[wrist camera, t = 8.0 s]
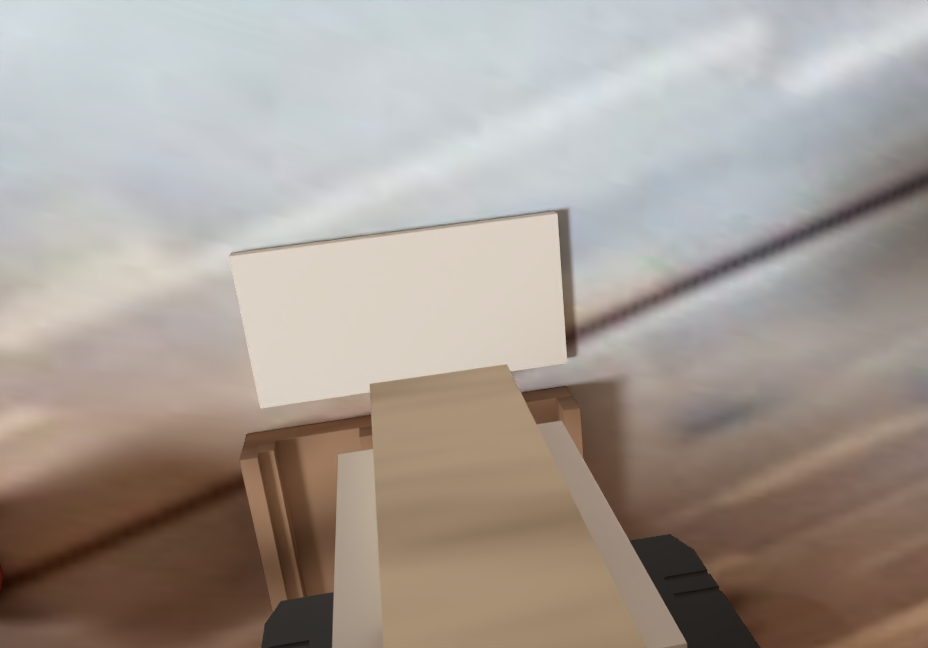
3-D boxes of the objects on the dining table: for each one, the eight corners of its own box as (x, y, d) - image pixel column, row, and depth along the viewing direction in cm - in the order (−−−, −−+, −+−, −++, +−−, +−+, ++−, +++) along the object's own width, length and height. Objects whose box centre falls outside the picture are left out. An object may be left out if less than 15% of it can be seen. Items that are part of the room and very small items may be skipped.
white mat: (564, 358, 41) (567, 363, 40) (261, 403, 39) (260, 408, 39) (554, 211, 38) (557, 213, 38) (230, 253, 37) (229, 256, 36)
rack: (580, 598, 45) (593, 631, 43) (292, 648, 44) (288, 685, 41) (566, 386, 41) (580, 408, 39) (246, 434, 40) (239, 460, 37)
